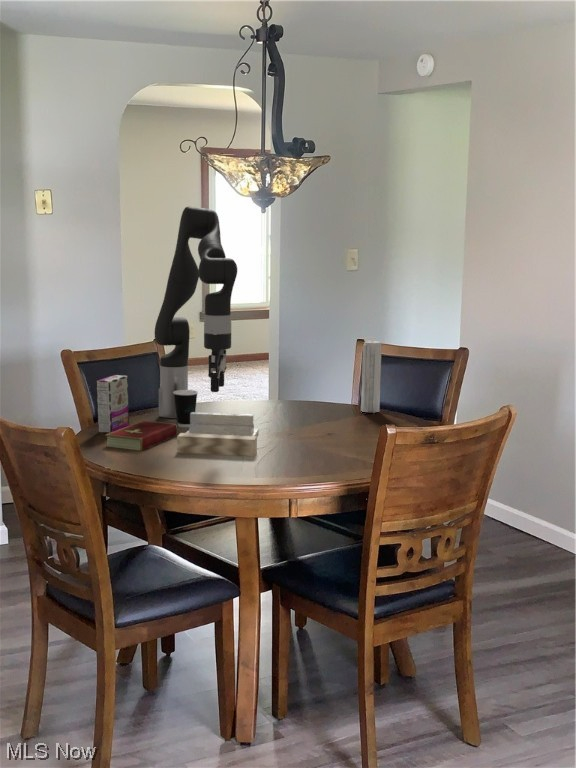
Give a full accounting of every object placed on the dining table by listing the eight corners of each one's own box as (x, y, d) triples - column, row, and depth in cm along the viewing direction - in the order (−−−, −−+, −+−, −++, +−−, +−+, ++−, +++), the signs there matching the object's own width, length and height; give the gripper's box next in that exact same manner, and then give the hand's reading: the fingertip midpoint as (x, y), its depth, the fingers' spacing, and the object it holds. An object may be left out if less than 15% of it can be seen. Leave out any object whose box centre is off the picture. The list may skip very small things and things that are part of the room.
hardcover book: (177, 436, 257) (177, 423, 256) (141, 452, 238) (141, 438, 237) (143, 432, 261) (143, 419, 261) (105, 448, 242) (105, 433, 241)
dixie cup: (192, 429, 265) (192, 394, 264) (169, 427, 268) (168, 393, 266) (201, 424, 273) (201, 390, 271) (179, 422, 275) (179, 389, 273)
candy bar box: (115, 425, 269) (114, 374, 267) (129, 426, 268) (128, 375, 265) (97, 432, 259) (95, 379, 256) (111, 433, 257) (110, 381, 255)
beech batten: (177, 453, 237) (177, 436, 236) (180, 449, 241) (180, 432, 240) (254, 457, 234) (254, 439, 233) (256, 453, 238) (256, 436, 237)
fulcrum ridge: (183, 439, 251) (183, 416, 250) (191, 430, 263) (191, 408, 262) (253, 442, 249) (253, 419, 248) (258, 433, 261) (258, 411, 260)
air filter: (382, 411, 297) (384, 341, 293) (374, 414, 292) (376, 343, 288) (365, 409, 301) (368, 340, 296) (357, 412, 295) (359, 341, 291)
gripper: (209, 328, 239) (209, 384, 242) (199, 333, 225) (199, 393, 228) (235, 328, 238) (234, 385, 241) (226, 334, 224) (226, 394, 227)
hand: (217, 389), depth 234 cm, fingers open, 8 cm apart
